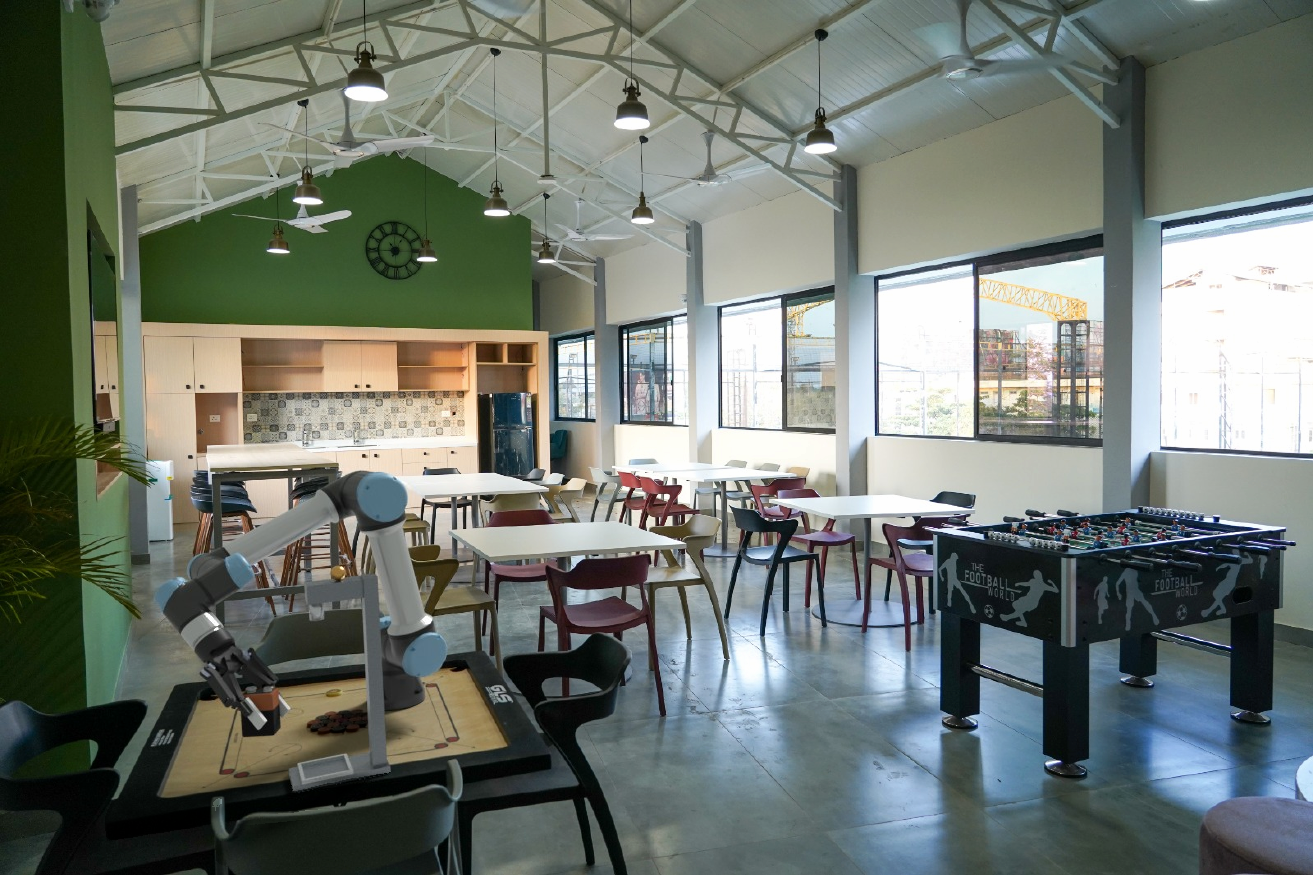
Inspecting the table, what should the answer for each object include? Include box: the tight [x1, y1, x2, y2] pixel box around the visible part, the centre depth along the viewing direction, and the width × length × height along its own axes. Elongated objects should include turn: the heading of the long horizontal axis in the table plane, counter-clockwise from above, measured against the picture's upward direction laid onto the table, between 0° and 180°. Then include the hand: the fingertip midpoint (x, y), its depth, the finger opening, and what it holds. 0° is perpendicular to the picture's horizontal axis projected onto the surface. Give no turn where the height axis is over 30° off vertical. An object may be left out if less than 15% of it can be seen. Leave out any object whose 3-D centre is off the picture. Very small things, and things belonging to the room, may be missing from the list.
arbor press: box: [288, 565, 392, 792], centre depth 199 cm, size 10×20×46 cm, turn 116°
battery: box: [240, 685, 282, 738], centre depth 194 cm, size 4×7×10 cm, turn 94°
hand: (274, 719), depth 193 cm, fingers closed on battery, 6 cm apart
